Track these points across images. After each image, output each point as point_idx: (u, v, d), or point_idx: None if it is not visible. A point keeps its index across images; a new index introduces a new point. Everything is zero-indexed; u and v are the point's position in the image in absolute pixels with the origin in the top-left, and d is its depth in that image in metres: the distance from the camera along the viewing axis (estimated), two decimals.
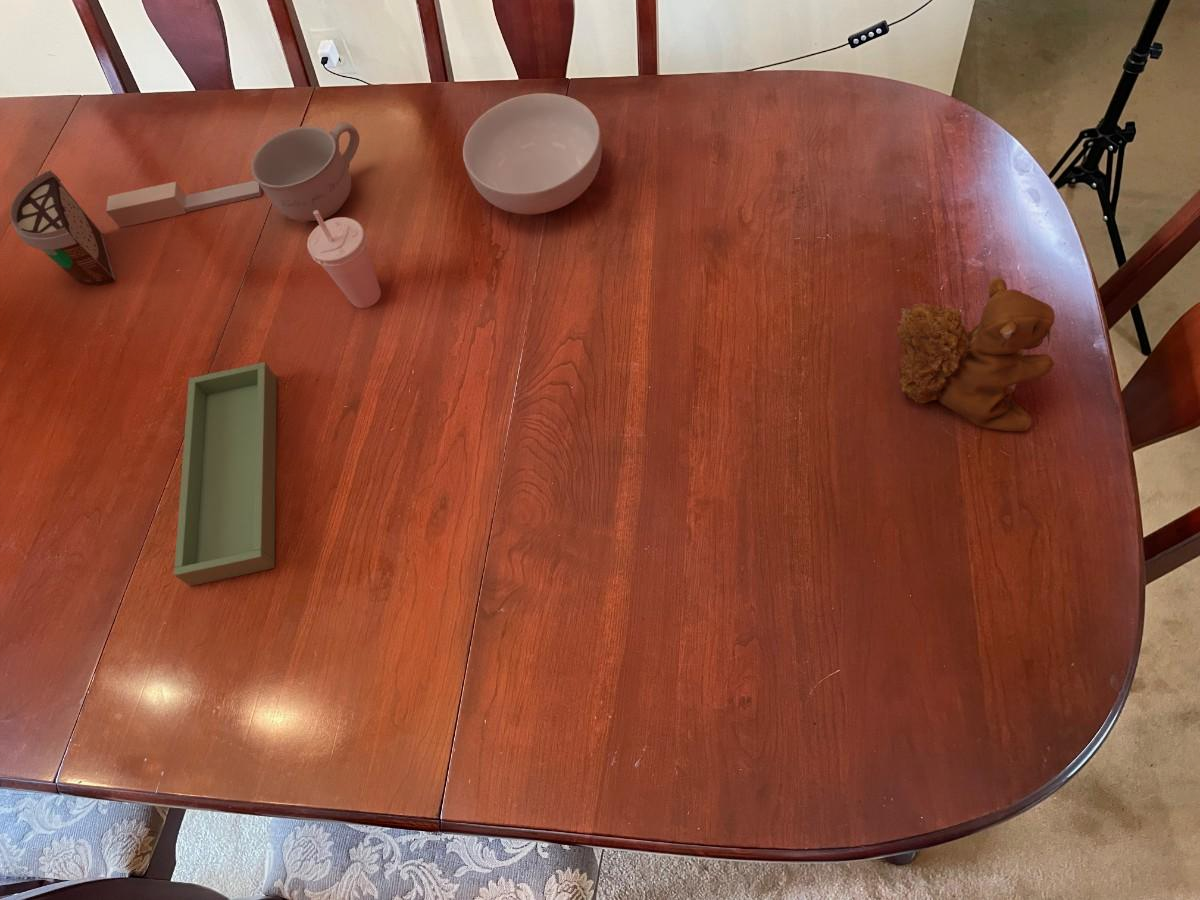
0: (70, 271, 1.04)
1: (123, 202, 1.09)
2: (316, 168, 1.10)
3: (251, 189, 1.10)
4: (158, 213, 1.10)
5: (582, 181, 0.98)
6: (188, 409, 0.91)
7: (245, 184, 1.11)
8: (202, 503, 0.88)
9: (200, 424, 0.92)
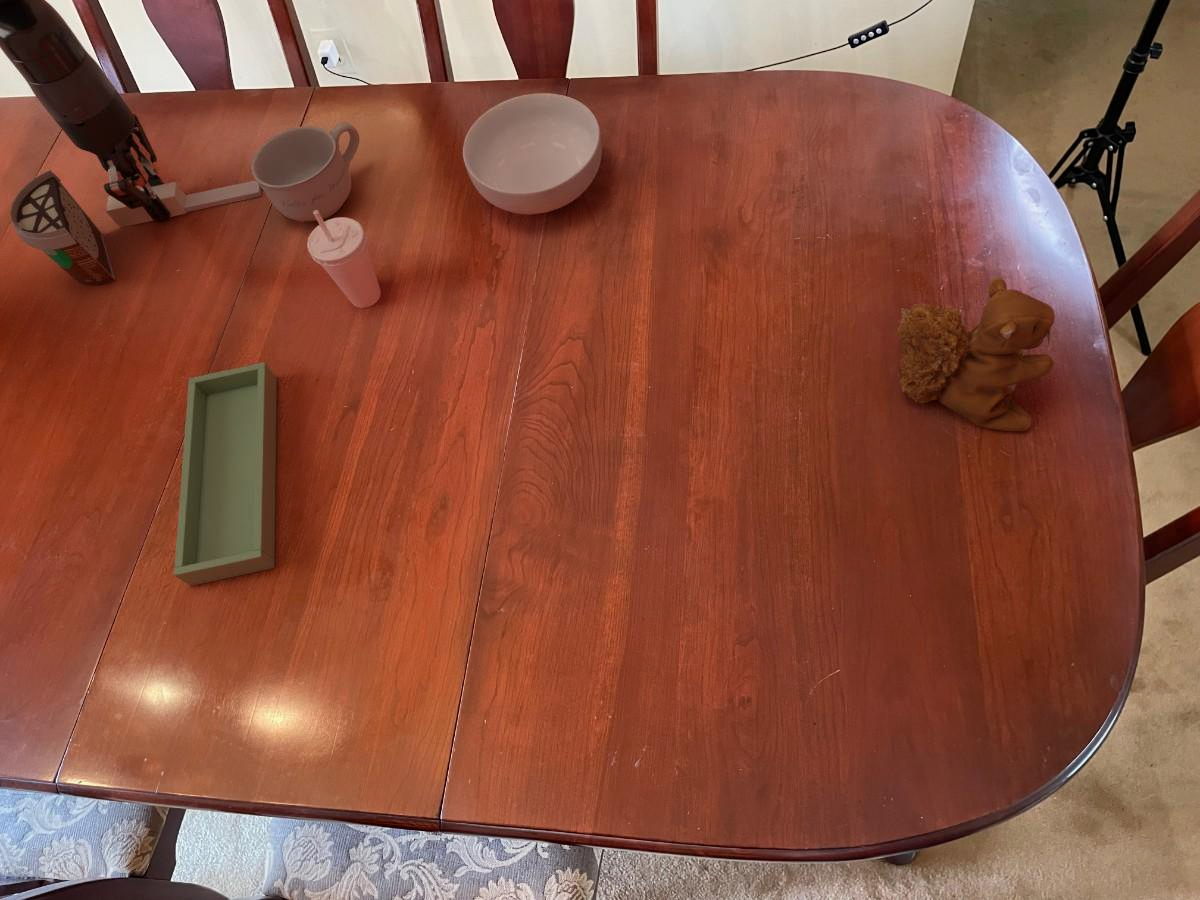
0: (70, 271, 1.04)
1: None
2: (316, 168, 1.10)
3: (251, 189, 1.10)
4: None
5: (582, 181, 0.98)
6: (188, 409, 0.91)
7: (245, 184, 1.11)
8: (202, 503, 0.88)
9: (200, 424, 0.92)
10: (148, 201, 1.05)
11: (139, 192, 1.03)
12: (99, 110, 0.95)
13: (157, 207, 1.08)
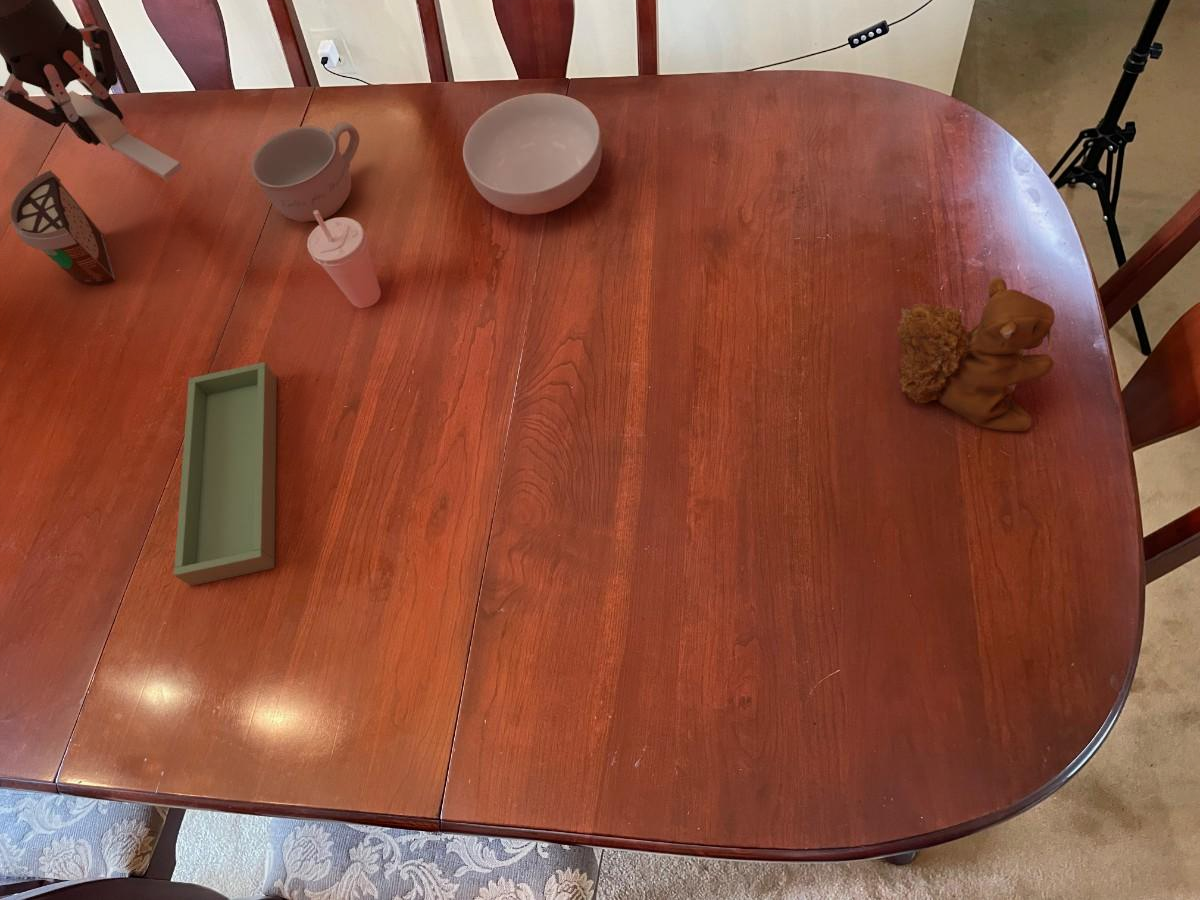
0: (70, 271, 1.04)
1: None
2: (316, 168, 1.10)
3: (162, 168, 0.95)
4: None
5: (582, 181, 0.98)
6: (188, 409, 0.91)
7: (166, 158, 0.96)
8: (202, 503, 0.88)
9: (200, 424, 0.92)
10: (53, 122, 0.94)
11: (39, 110, 0.92)
12: None
13: (79, 130, 0.97)
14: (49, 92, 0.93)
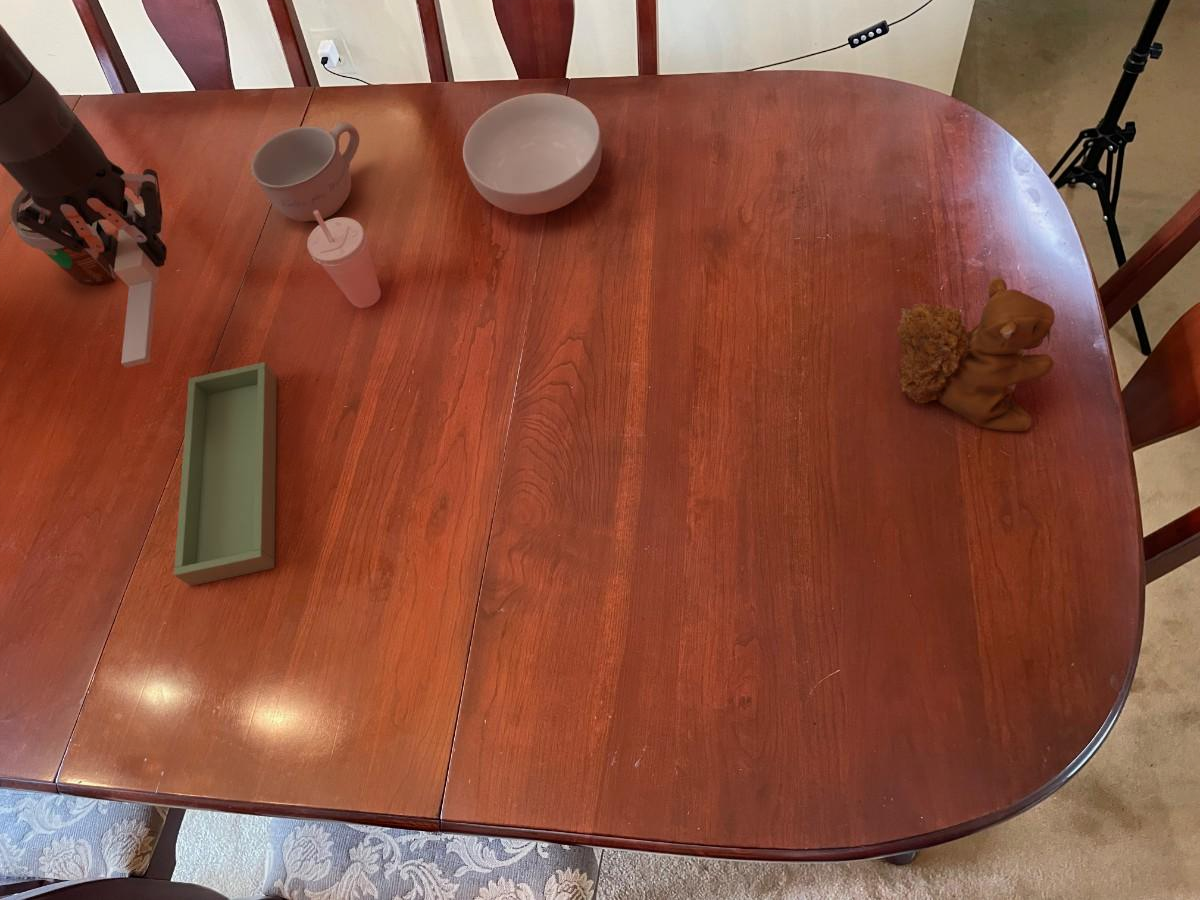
0: (70, 271, 1.04)
1: None
2: (316, 168, 1.10)
3: (129, 353, 0.81)
4: None
5: (582, 181, 0.98)
6: (188, 409, 0.91)
7: (141, 343, 0.82)
8: (202, 503, 0.88)
9: (200, 424, 0.92)
10: (71, 248, 0.83)
11: (55, 235, 0.81)
12: None
13: (107, 258, 0.85)
14: None
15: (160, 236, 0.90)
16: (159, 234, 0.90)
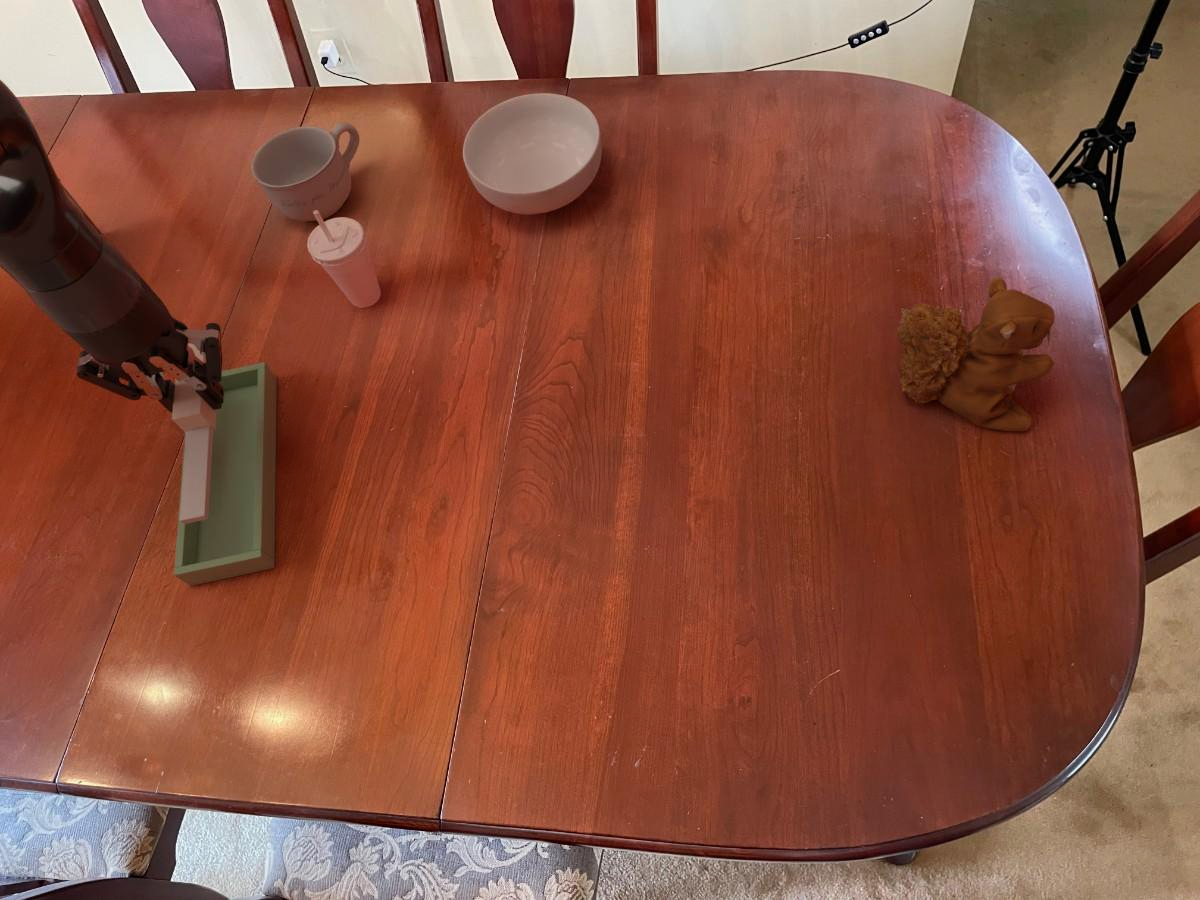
0: None
1: None
2: (316, 168, 1.10)
3: (187, 509, 0.79)
4: None
5: (582, 181, 0.98)
6: None
7: (200, 498, 0.79)
8: None
9: None
10: (128, 397, 0.80)
11: (113, 387, 0.79)
12: (58, 325, 0.69)
13: (164, 403, 0.83)
14: None
15: None
16: None
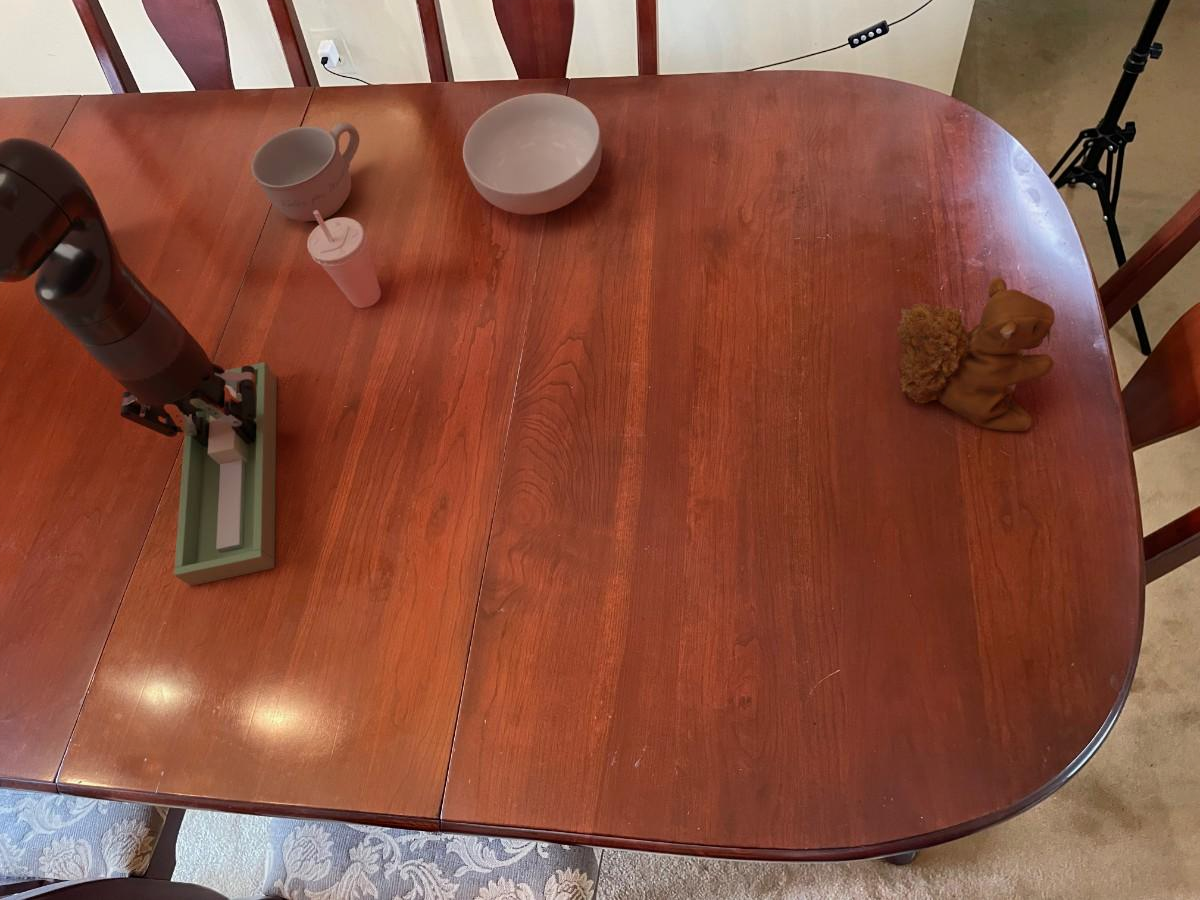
0: None
1: None
2: (316, 168, 1.10)
3: (223, 538, 0.85)
4: None
5: (582, 181, 0.98)
6: None
7: (235, 528, 0.85)
8: (202, 503, 0.88)
9: None
10: (165, 434, 0.86)
11: (153, 425, 0.85)
12: None
13: (198, 438, 0.89)
14: None
15: None
16: None
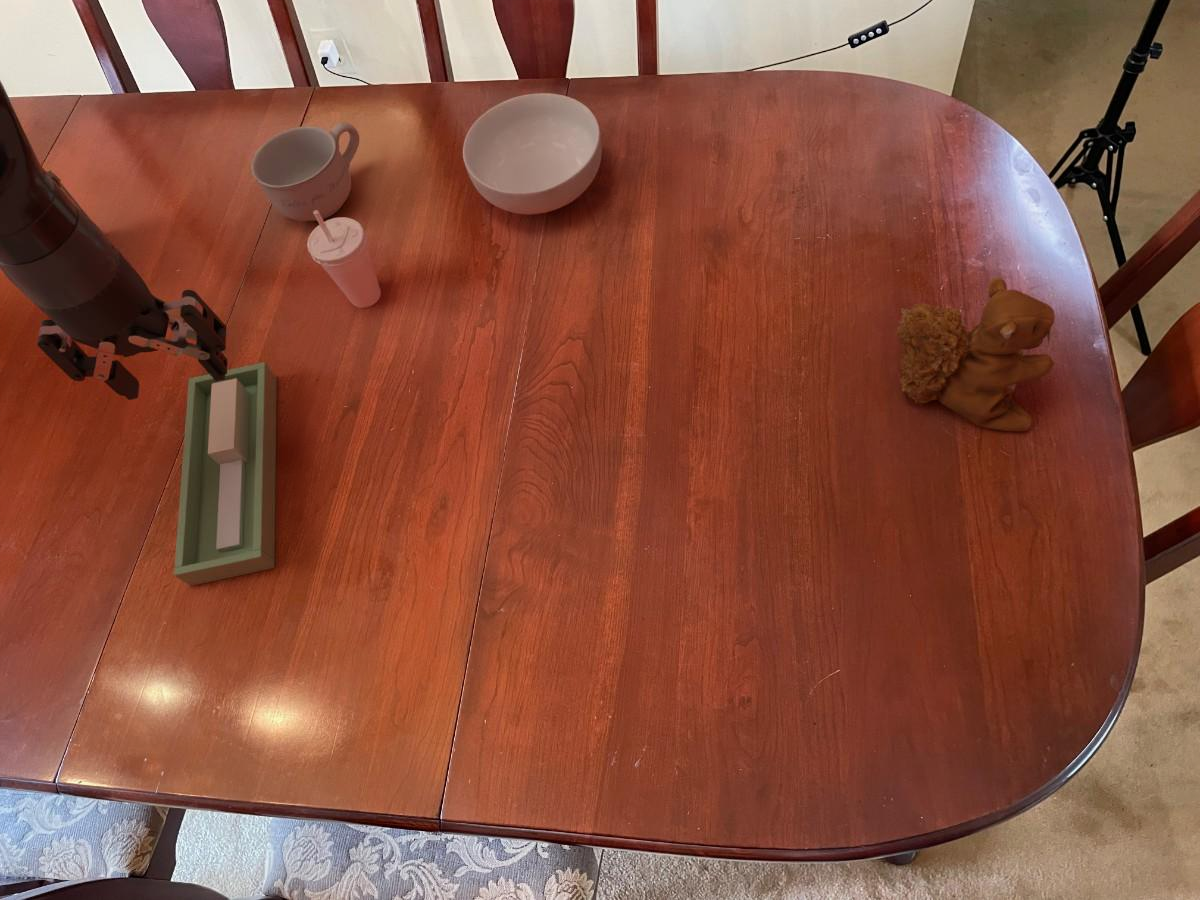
0: None
1: (218, 398, 0.91)
2: (316, 168, 1.10)
3: (223, 538, 0.85)
4: None
5: (582, 181, 0.98)
6: (188, 409, 0.91)
7: (235, 528, 0.85)
8: (202, 503, 0.88)
9: (200, 424, 0.92)
10: (72, 376, 0.76)
11: (65, 363, 0.75)
12: (32, 301, 0.67)
13: (111, 384, 0.79)
14: None
15: (247, 409, 0.93)
16: (246, 407, 0.93)
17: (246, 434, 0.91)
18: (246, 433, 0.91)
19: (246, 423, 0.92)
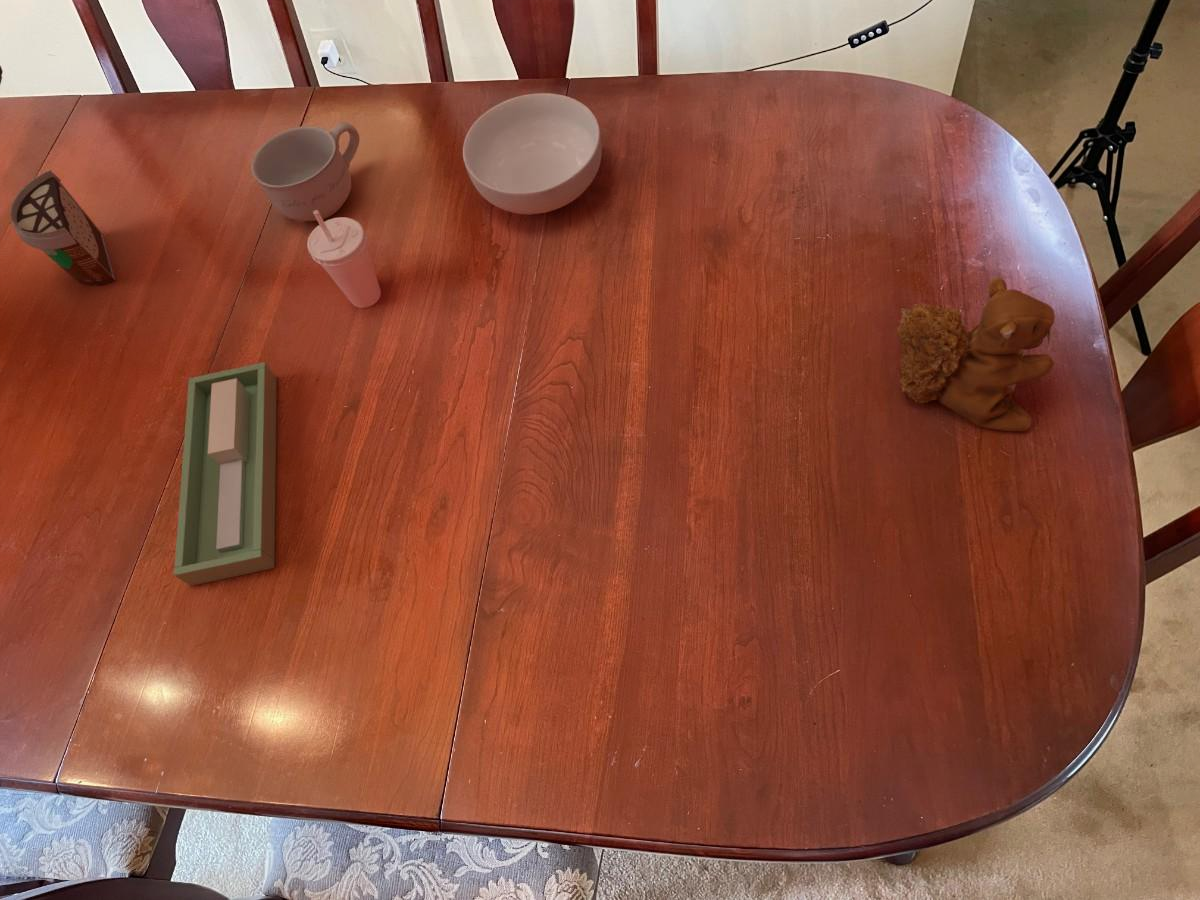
0: (70, 271, 1.04)
1: (218, 398, 0.91)
2: (316, 168, 1.10)
3: (223, 538, 0.85)
4: None
5: (582, 181, 0.98)
6: (188, 409, 0.91)
7: (235, 528, 0.85)
8: (202, 503, 0.88)
9: (200, 424, 0.92)
10: None
11: None
12: None
13: None
14: None
15: (247, 409, 0.93)
16: (246, 407, 0.93)
17: (246, 434, 0.91)
18: (246, 433, 0.91)
19: (246, 423, 0.92)
